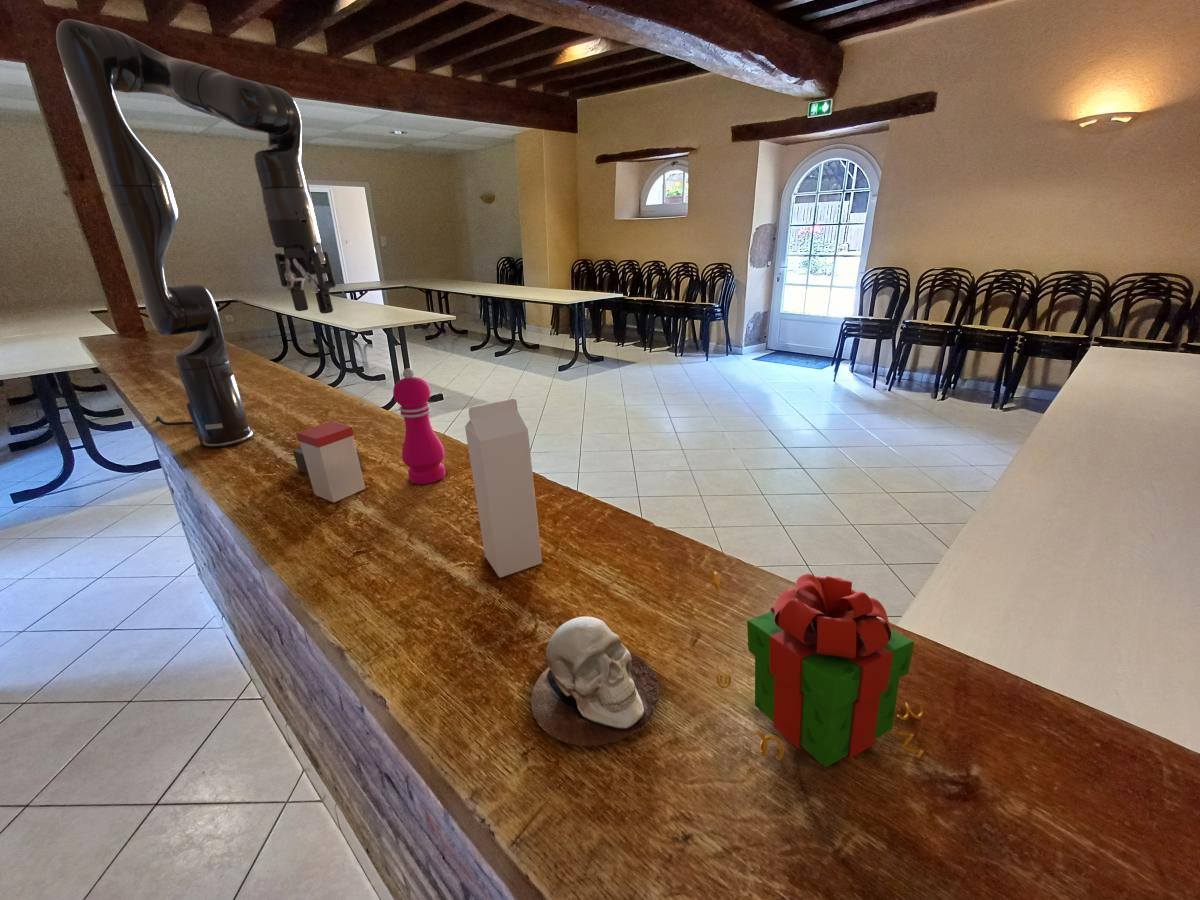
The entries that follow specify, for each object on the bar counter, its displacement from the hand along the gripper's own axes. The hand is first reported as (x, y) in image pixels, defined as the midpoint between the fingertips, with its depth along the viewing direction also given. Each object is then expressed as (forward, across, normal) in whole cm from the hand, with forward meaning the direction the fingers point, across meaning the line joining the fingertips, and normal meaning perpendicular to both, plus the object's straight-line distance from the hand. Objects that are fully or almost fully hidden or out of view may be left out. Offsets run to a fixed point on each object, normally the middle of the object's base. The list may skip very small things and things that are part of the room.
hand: (314, 311), depth 103 cm
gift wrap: (+28, +97, -18) cm, 102 cm away
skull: (+28, +80, -24) cm, 88 cm away
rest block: (+28, +6, -8) cm, 30 cm away
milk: (+28, +57, -12) cm, 65 cm away
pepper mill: (+28, +26, 0) cm, 38 cm away
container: (+27, +17, -8) cm, 32 cm away
